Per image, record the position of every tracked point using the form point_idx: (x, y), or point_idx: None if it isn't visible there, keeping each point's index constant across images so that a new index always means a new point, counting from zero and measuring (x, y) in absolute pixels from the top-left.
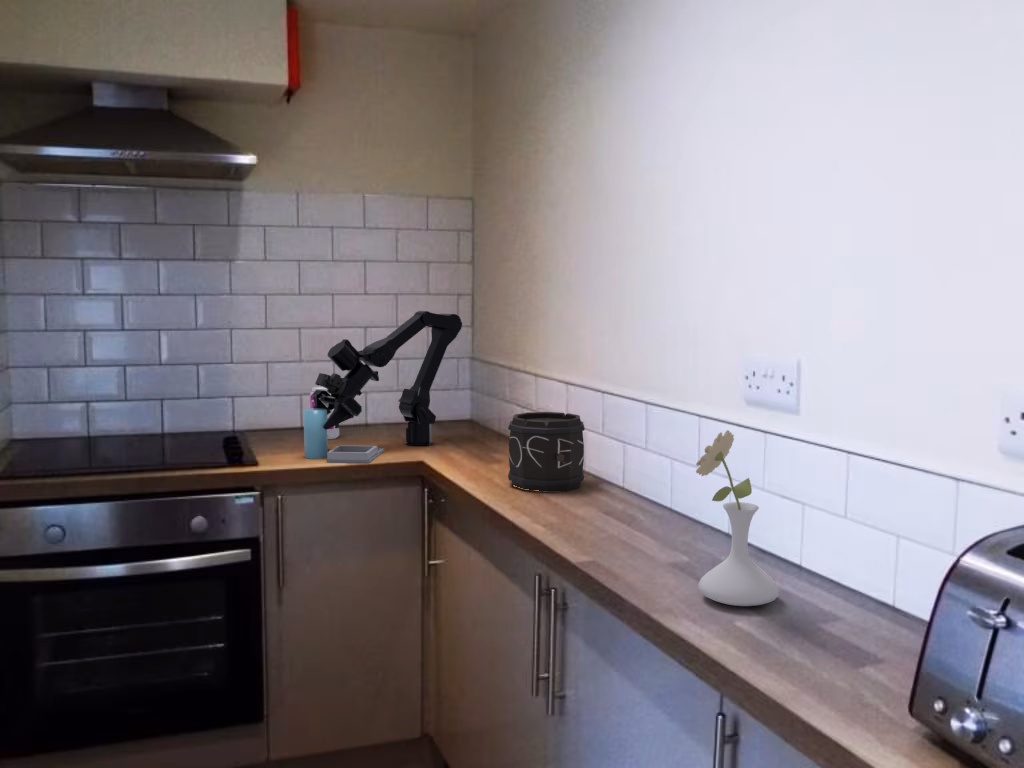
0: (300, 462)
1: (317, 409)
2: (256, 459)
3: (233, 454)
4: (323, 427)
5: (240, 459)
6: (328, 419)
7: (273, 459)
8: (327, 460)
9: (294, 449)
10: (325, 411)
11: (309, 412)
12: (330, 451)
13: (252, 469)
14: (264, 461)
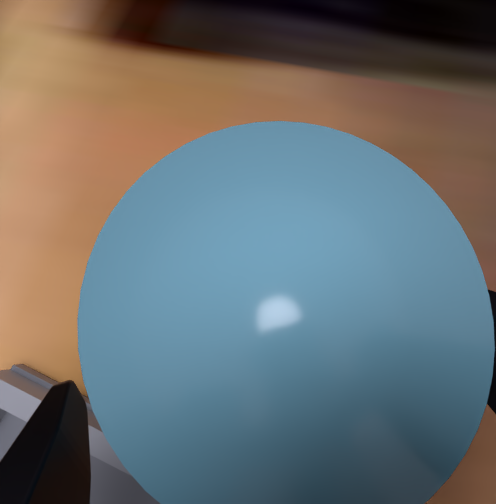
0: (96, 226)
1: (339, 355)
2: (264, 61)
3: (414, 6)
4: (62, 383)
5: (288, 8)
6: (4, 478)
7: (236, 124)
8: (13, 370)
9: (484, 261)
10: (159, 490)
11: (140, 186)
12: (8, 401)
13: (22, 5)
14: (200, 81)
